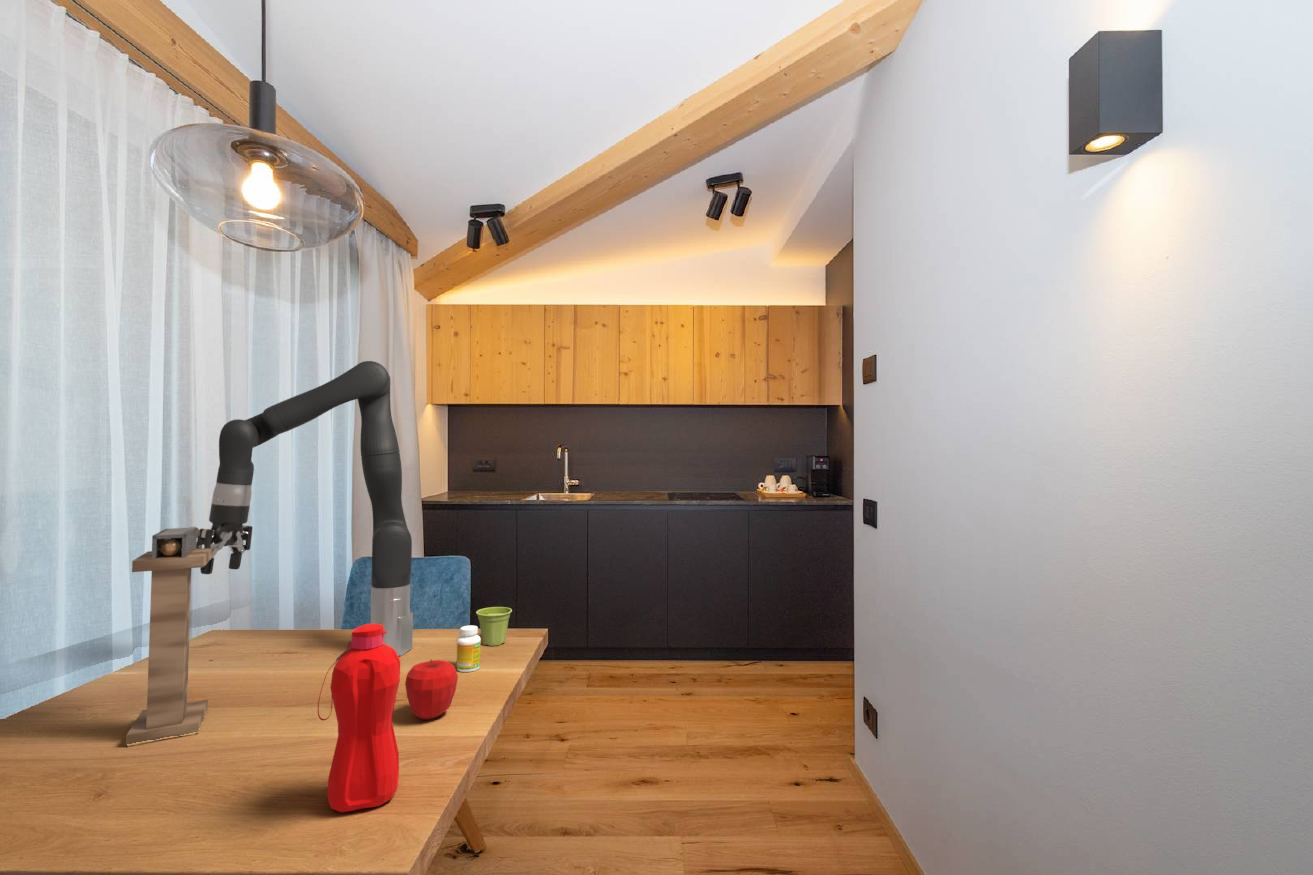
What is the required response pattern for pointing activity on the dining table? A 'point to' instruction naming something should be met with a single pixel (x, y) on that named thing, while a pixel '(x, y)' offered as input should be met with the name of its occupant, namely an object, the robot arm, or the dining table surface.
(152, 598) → the wooden pedestal stand
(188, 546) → the grey hollow box
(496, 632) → the plant pot
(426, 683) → the apple
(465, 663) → the supplement bottle
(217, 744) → the dining table surface
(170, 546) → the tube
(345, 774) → the water bottle
